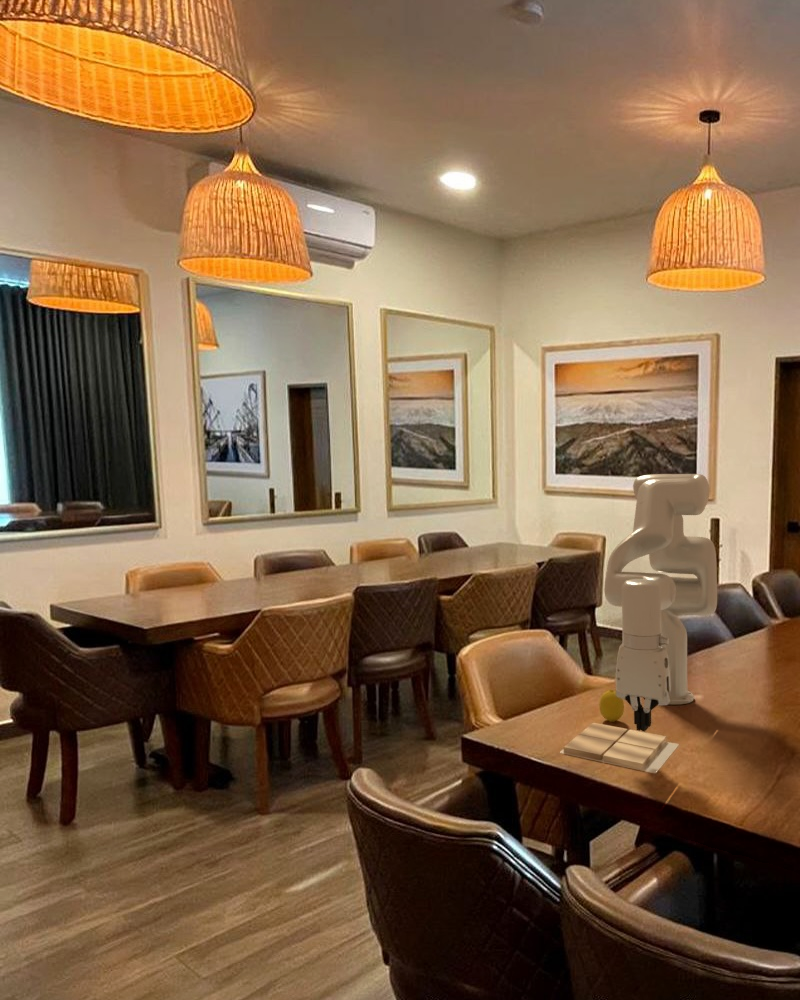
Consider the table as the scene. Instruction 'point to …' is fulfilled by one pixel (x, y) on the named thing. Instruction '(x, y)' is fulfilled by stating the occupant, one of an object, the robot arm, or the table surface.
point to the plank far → (643, 740)
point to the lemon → (611, 706)
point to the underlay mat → (654, 762)
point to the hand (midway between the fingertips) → (642, 728)
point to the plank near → (629, 755)
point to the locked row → (594, 741)
